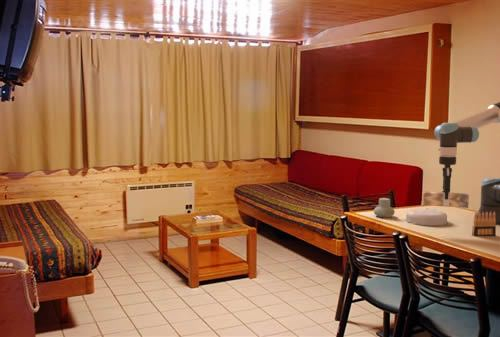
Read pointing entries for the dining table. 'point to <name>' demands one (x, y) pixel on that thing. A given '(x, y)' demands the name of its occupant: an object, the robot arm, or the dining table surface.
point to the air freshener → (384, 208)
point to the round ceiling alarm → (427, 217)
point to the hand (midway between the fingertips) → (445, 204)
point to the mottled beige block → (437, 199)
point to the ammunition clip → (484, 225)
